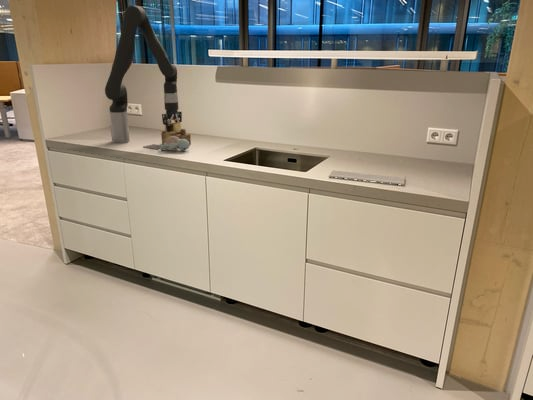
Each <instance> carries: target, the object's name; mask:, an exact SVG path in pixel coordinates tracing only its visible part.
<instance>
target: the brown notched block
mask: <svg viewBox="0 0 533 400" xmlns="http://www.w3.org/2000/svg"><path fill="white" fill-rule="evenodd" d="M180 131H181V132H178V133H174V134H168V133H165V130H163V131H161V144H162V145H164V143H165V140H166V139H167V138H168V137H170V136H176V137H178V138H179V139H186V140H188V142H189V146H190V145H191V144H192V141H191V139H192V138H191V133H187V132H186V128H181V129H180Z"/></svg>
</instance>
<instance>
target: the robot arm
mask: <svg viewBox="0 0 533 400" xmlns="http://www.w3.org/2000/svg"><path fill="white" fill-rule="evenodd" d="M138 30H140V32H141V34H142V35H143V37H144V39H145V43H146V45H147V47H148V50H149V52H150V54H151V55H152V57H153V58H154V60H155V61H156V64H157V66H158V69H159V71H160V72H161V74H162V75H163V77H164V83H163V93H164V94H163V100H164V110H165V113H162V114H161V118H162V120H161V121H162V124H163V126H165V125H166V131H167V132H171V130H170V126H169V125H170V123H171V122H177V123H182V120H183V113H182V111H178V110H179V97H178V86H177V81H178V69H177V67H176V65H174V64H173V63H171V62H170V59H169V57H168V54H167V51H166V49H164V47H163V45H162V44H161V41H160V40H159V38H158V36H157V35H156V33H155V31H154V29H153V26H152V24H151V21H150V19H149V16H148V14H147V12H146V10H145V9H144V8H143V7H141V6H140V5H134V4H133V5H129V6H127V7H126V8H125V11H124V14H123V20H122V28H121V31H120V34H119V35H120V36H119V39H118V43H117V47H116V51H115V54H114V58H113V63H112V66H111V70H110V72H109V73H110V74H109V76H108V79H107V81H106V85H105V87H104V94H105V97H107V99H108V100H110V101H111V100H112V103H111V105H110V106H109V115H110V125H109V127H110V134H111V142H113V143H118V144H120V143H121V144H122V143H123V144H124V143H128V142H130V130H129V121H128V119H129V118H128V105H129V104H128V89H127V87H126V86H125V84H124V83H122V82H123V79H124V77H125V75H126V73H127V72H128V71H129V69H130V67H131V66H132V63H133V62H134V61H133V60H134V57H135V53H136V34H137V31H138Z"/></svg>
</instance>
